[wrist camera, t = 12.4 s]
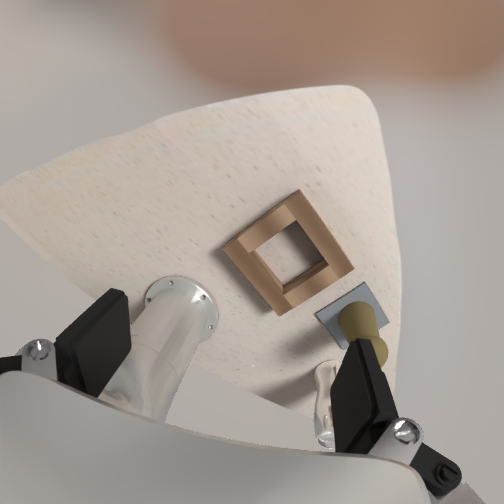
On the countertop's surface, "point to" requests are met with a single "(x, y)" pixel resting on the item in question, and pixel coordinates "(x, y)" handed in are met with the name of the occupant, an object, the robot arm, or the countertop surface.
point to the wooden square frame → (307, 282)
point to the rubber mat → (333, 310)
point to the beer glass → (324, 403)
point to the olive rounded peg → (362, 327)
